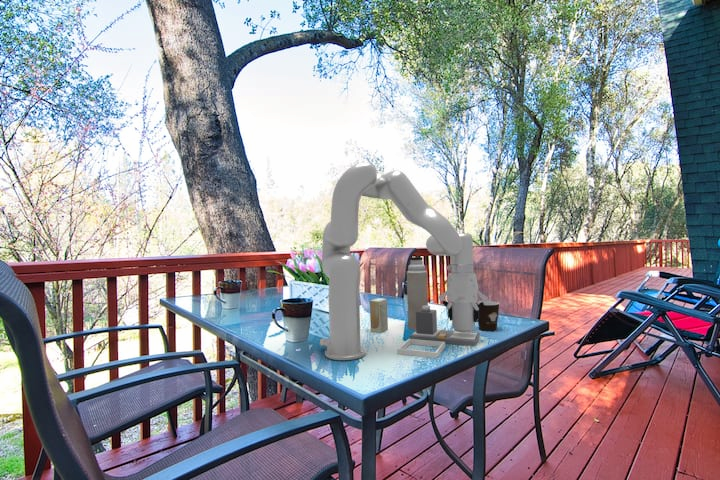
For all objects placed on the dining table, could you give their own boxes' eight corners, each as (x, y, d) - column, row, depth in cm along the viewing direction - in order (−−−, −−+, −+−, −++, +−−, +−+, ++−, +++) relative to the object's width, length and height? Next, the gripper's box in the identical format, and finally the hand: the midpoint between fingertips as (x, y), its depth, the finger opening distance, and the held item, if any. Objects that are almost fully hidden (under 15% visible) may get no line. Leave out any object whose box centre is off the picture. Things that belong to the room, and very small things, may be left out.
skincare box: (379, 328, 148) (378, 297, 148) (388, 329, 146) (387, 298, 146) (369, 331, 143) (369, 300, 143) (379, 333, 141) (378, 300, 141)
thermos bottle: (426, 325, 151) (424, 256, 151) (430, 330, 143) (428, 257, 143) (407, 325, 151) (405, 256, 151) (409, 330, 143) (407, 257, 143)
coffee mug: (497, 326, 146) (496, 301, 146) (501, 332, 137) (501, 305, 137) (466, 326, 148) (466, 301, 148) (469, 331, 140) (468, 305, 140)
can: (476, 333, 124) (475, 297, 124) (452, 332, 125) (451, 297, 125) (473, 327, 131) (473, 293, 131) (452, 327, 133) (451, 293, 133)
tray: (397, 353, 115) (397, 348, 115) (409, 343, 126) (408, 338, 126) (436, 358, 110) (436, 352, 110) (445, 346, 121) (445, 341, 121)
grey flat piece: (409, 340, 130) (409, 333, 130) (419, 332, 141) (418, 325, 141) (475, 346, 121) (475, 339, 121) (479, 336, 132) (479, 330, 132)
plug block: (416, 333, 132) (415, 307, 132) (420, 329, 138) (420, 304, 138) (433, 334, 130) (432, 308, 130) (436, 330, 135) (436, 305, 135)
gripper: (434, 270, 128) (435, 321, 128) (487, 270, 121) (489, 324, 121) (439, 268, 135) (440, 316, 135) (489, 268, 128) (491, 320, 128)
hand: (463, 320), depth 128 cm, fingers closed on can, 7 cm apart
